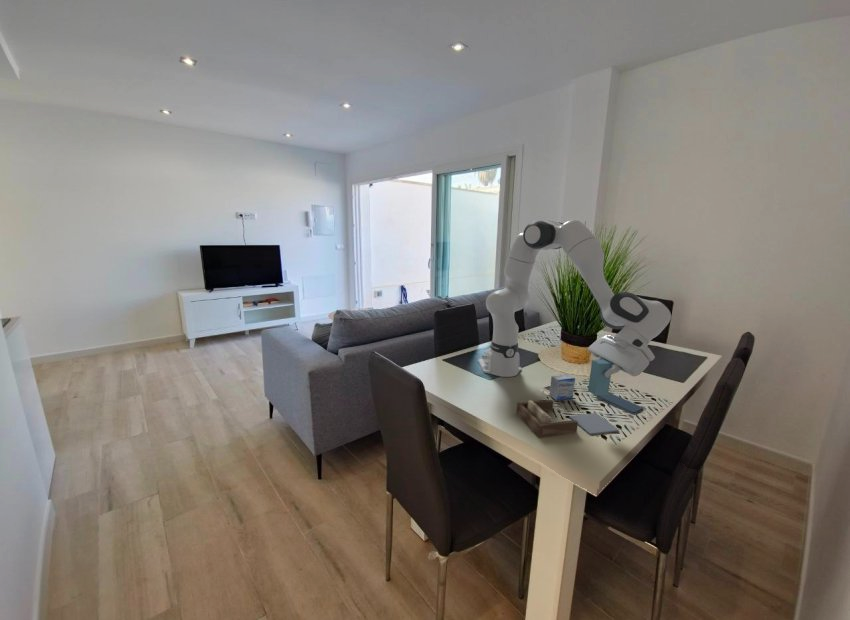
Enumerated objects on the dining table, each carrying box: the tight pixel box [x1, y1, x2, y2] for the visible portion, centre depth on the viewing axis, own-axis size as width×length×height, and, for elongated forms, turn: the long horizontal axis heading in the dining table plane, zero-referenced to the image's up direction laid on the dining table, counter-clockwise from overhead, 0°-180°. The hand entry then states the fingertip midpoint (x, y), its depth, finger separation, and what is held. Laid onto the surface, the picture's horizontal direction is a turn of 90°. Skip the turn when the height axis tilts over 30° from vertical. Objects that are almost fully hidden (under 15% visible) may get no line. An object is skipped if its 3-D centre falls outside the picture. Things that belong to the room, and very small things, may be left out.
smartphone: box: [595, 391, 644, 415], centre depth 134 cm, size 8×2×15 cm
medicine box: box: [549, 374, 576, 401], centre depth 137 cm, size 8×4×9 cm, turn 106°
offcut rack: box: [515, 399, 579, 438], centre depth 119 cm, size 15×14×4 cm
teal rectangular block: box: [587, 359, 613, 396], centre depth 115 cm, size 4×5×11 cm
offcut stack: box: [527, 399, 552, 424], centre depth 118 cm, size 9×4×6 cm, turn 13°
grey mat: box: [568, 412, 620, 436], centre depth 119 cm, size 11×11×1 cm
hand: (599, 372), depth 114 cm, fingers closed on teal rectangular block, 3 cm apart
